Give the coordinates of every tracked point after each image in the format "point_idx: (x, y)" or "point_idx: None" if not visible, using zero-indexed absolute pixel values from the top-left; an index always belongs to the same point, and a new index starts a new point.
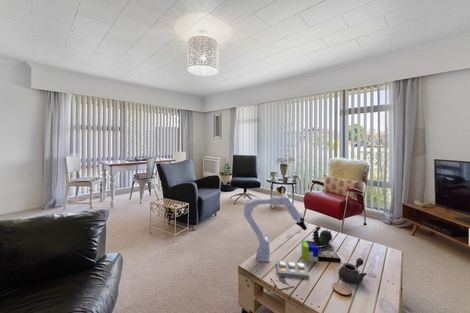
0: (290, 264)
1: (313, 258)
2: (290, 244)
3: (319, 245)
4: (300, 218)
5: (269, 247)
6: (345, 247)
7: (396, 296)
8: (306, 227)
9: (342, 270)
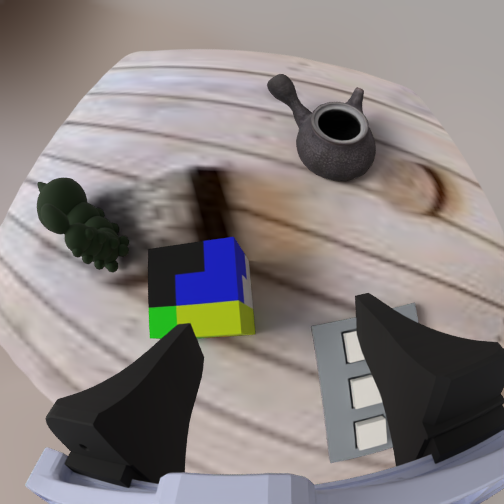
0: (376, 397)
1: (248, 279)
2: None
3: (119, 241)
4: (145, 417)
5: None
6: (107, 151)
7: (362, 72)
8: (378, 299)
9: (356, 155)
